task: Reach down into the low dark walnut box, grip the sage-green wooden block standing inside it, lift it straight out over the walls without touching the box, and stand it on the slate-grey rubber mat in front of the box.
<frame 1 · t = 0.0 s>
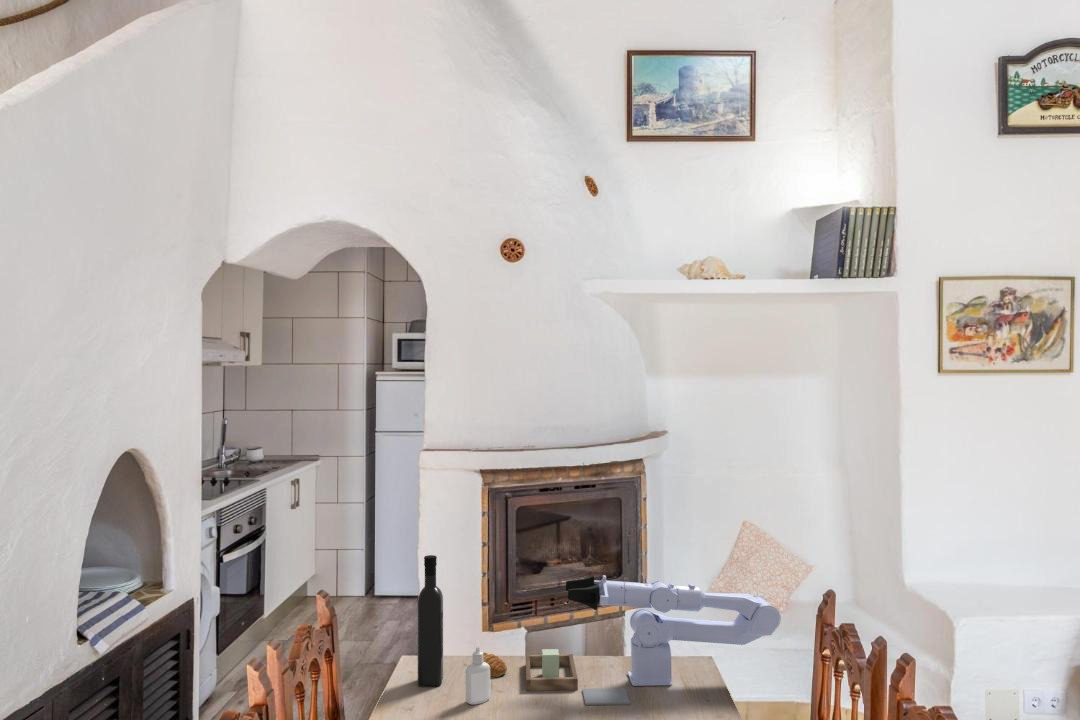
hand: (566, 589, 176), 22 cm above the table, tool horizontal, fingers open, 7 cm apart
wine bottle: (430, 683, 175), on the table
pastry: (490, 672, 183), on the table
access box: (550, 676, 178), on the table
eye dropper bottle: (478, 701, 165), on the table
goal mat: (605, 697, 166), on the table
wood block: (550, 677, 178), resting in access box
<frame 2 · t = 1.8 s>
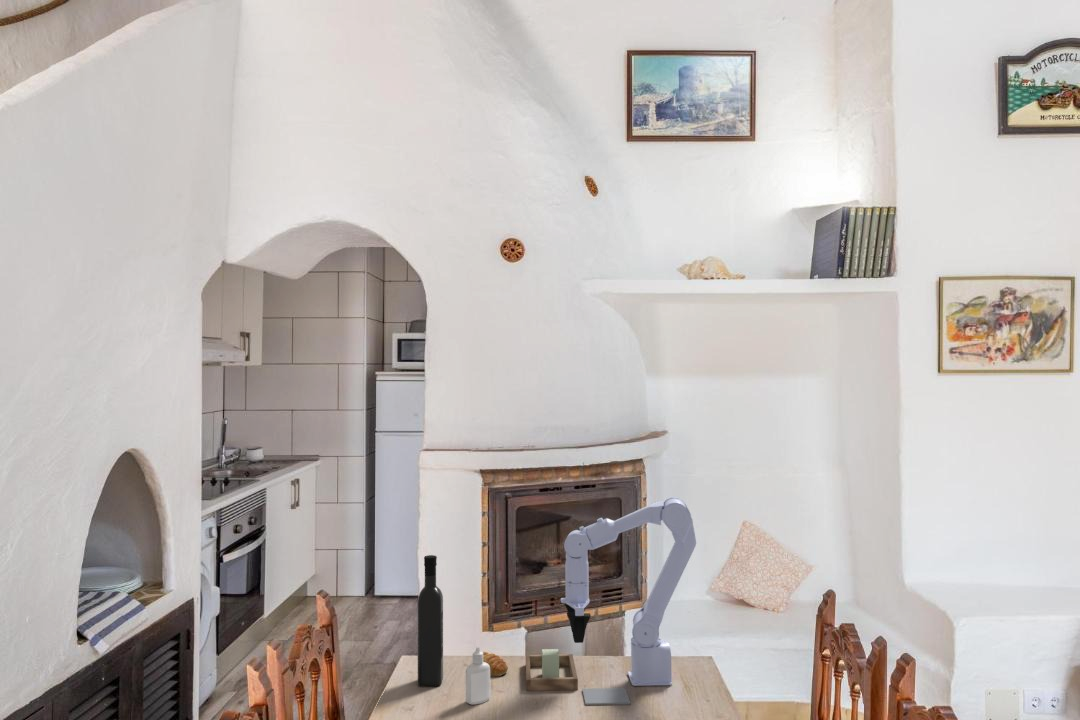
hand: (577, 636, 179), 9 cm above the table, tool pointing down, fingers open, 7 cm apart
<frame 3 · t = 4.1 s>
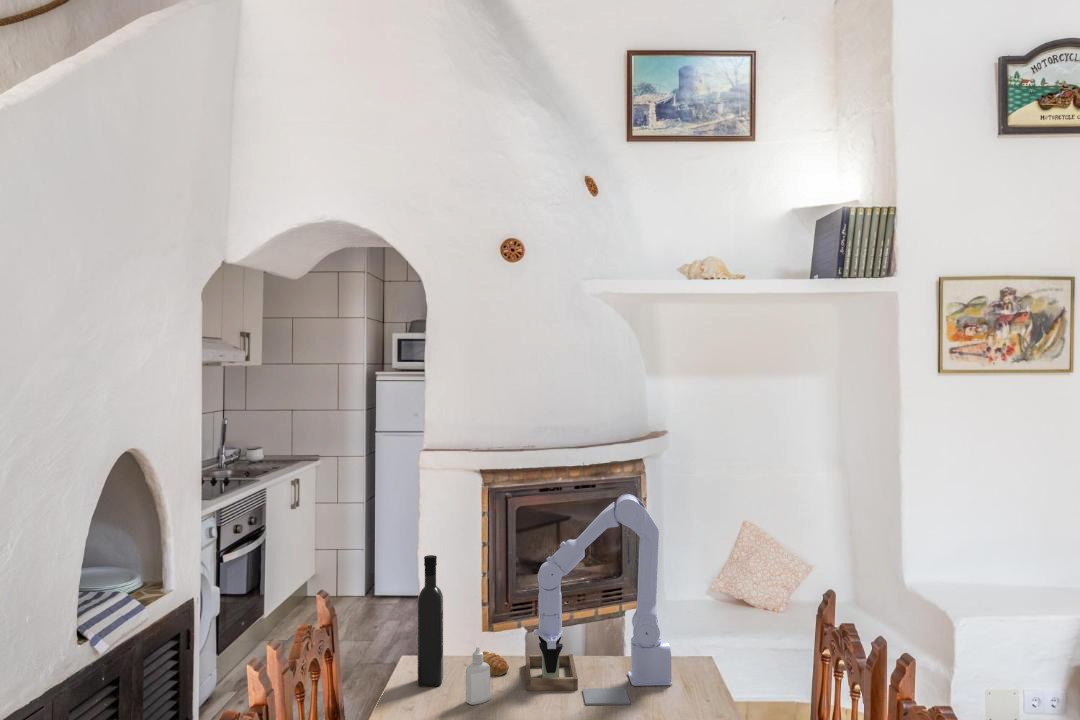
hand: (550, 668, 178), 2 cm above the table, tool pointing down, fingers closed on wood block, 4 cm apart
wood block: (550, 676, 178), resting in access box, touching gripper
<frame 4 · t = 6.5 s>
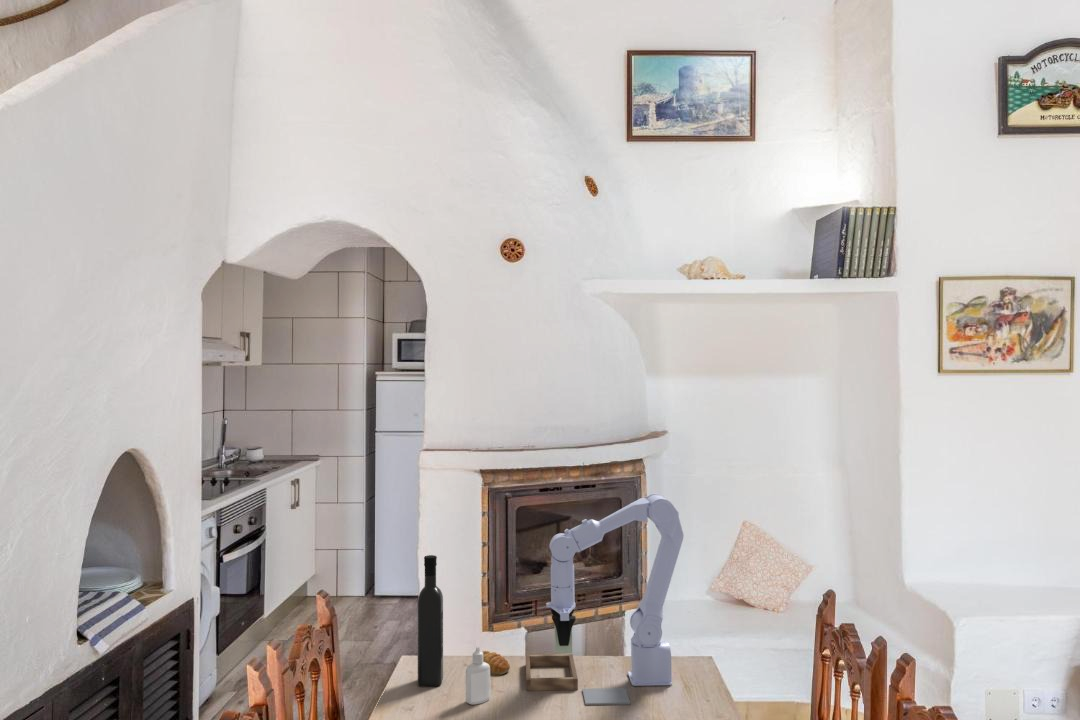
hand: (563, 642, 176), 9 cm above the table, tool pointing down, fingers closed on wood block, 4 cm apart
wood block: (563, 650, 176), point 7 cm above the table, touching gripper
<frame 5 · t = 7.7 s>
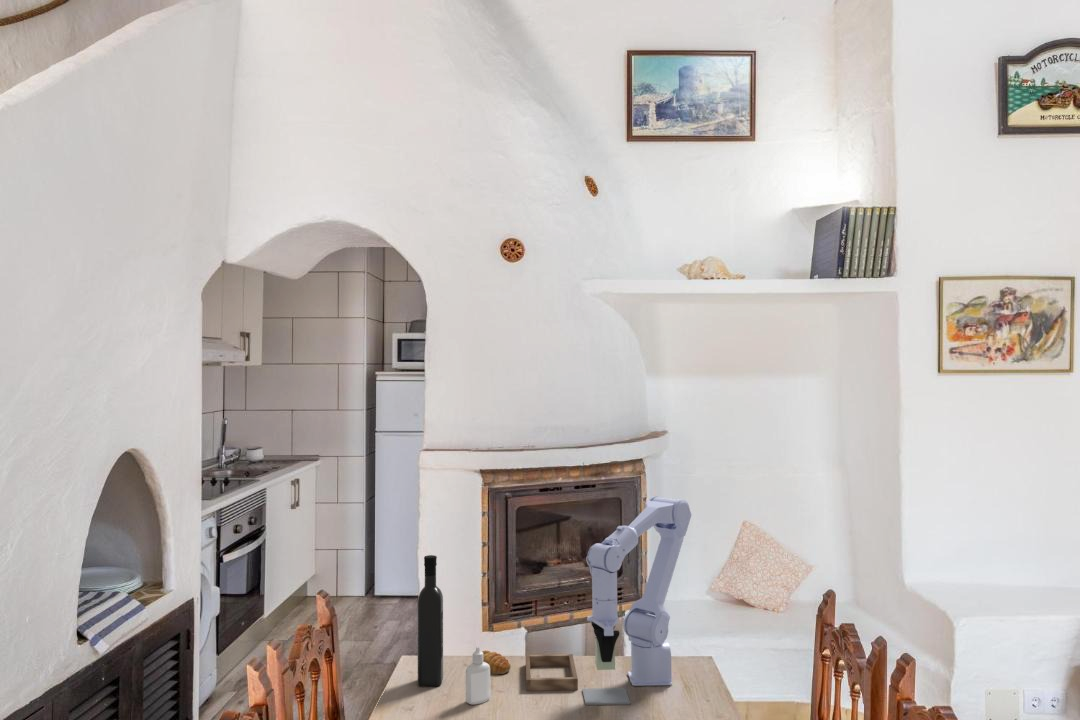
hand: (605, 657, 166), 9 cm above the table, tool pointing down, fingers closed on wood block, 4 cm apart
wood block: (605, 666, 166), point 7 cm above the table, touching gripper
when the fingers open (3 cm above the table, at t = 9.0 s): wood block drops 1 cm, resting on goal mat.
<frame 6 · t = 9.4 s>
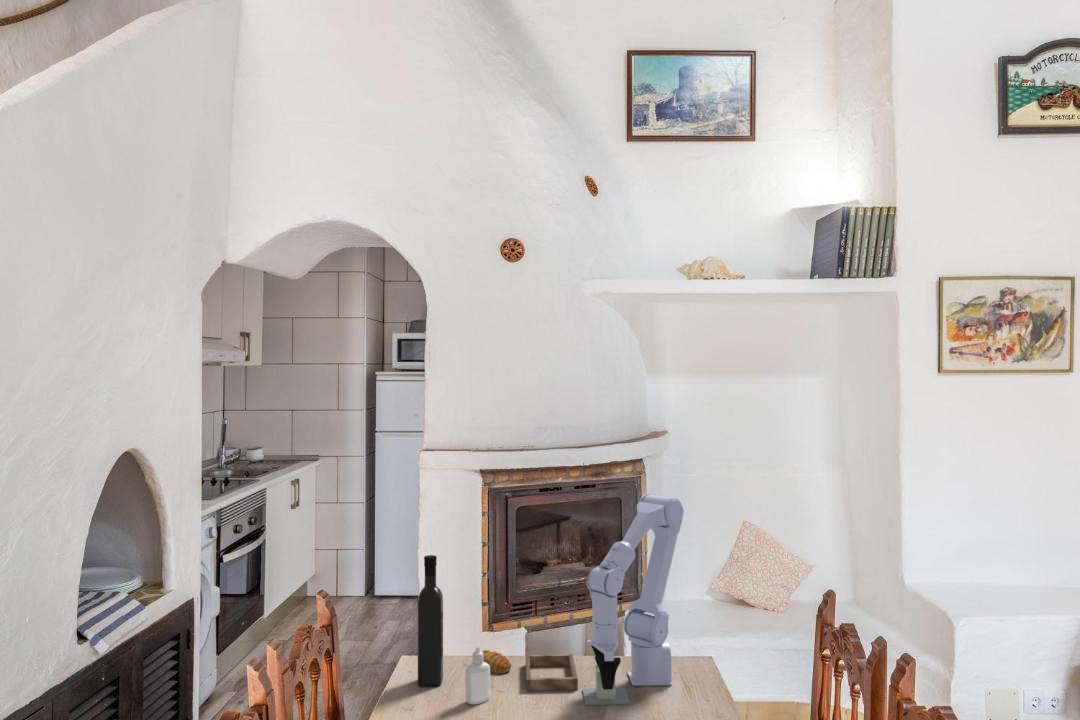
hand: (605, 682, 166), 3 cm above the table, tool pointing down, fingers open, 7 cm apart
wood block: (605, 695, 166), resting on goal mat
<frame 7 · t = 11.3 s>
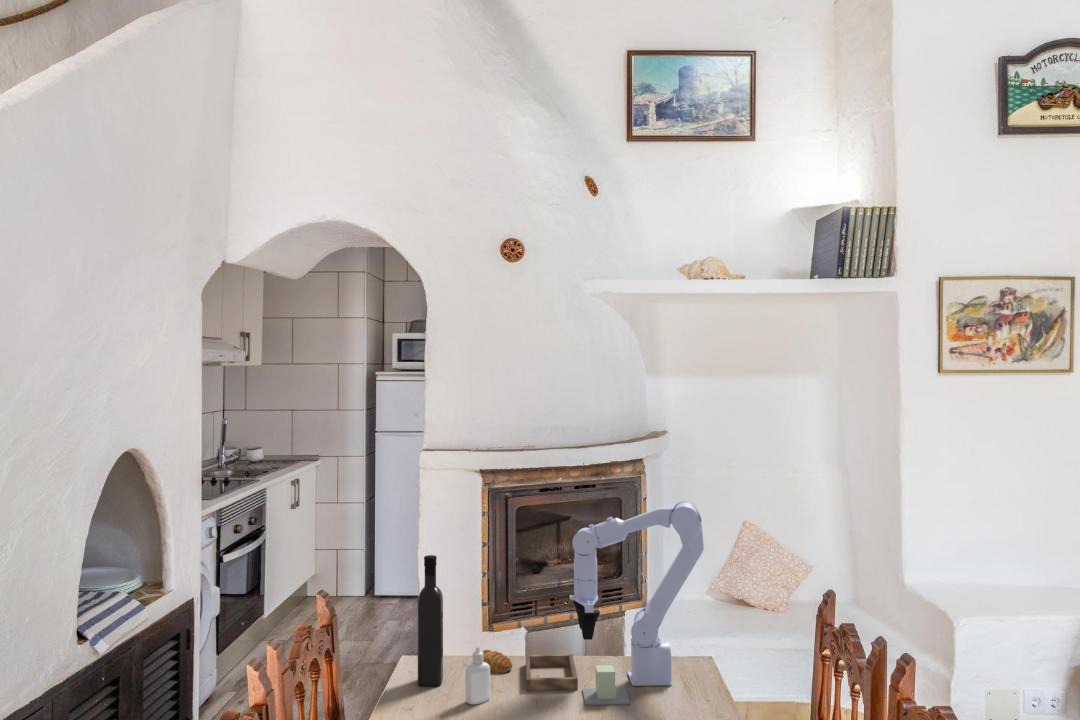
hand: (585, 633, 180), 10 cm above the table, tool pointing down, fingers open, 7 cm apart
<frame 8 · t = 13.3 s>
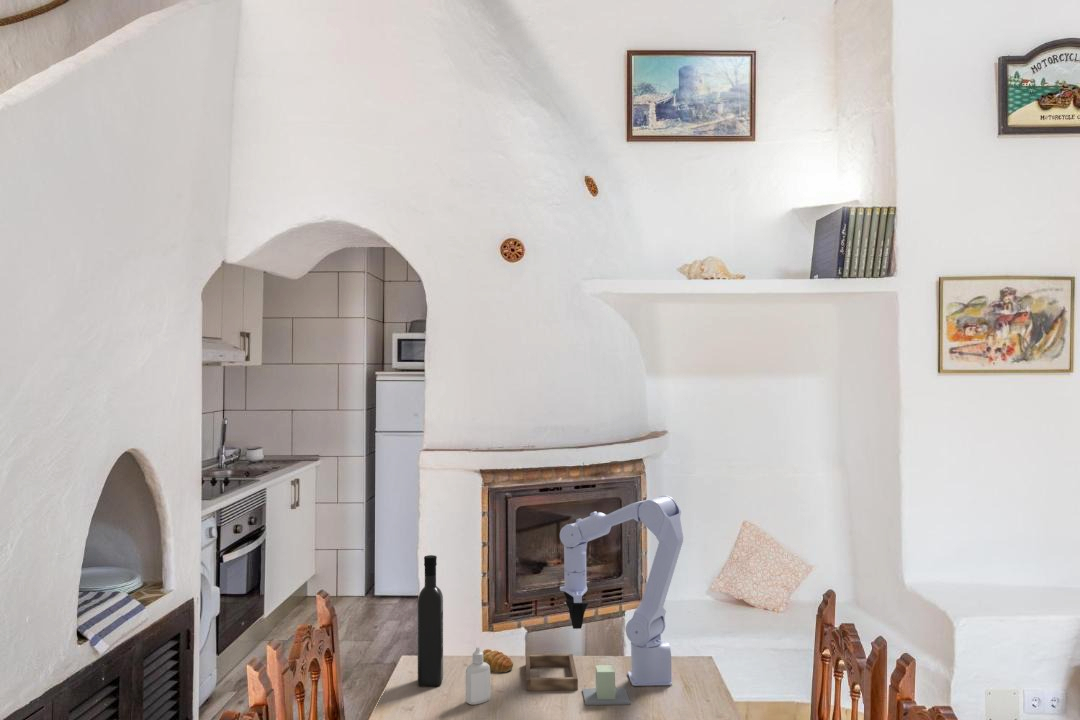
hand: (575, 623, 188), 10 cm above the table, tool pointing down, fingers open, 7 cm apart
at the end: wood block inside the target area (0.1 cm from its centre), resting on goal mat; wood block tilted 0°; the gripper is holding nothing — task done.
